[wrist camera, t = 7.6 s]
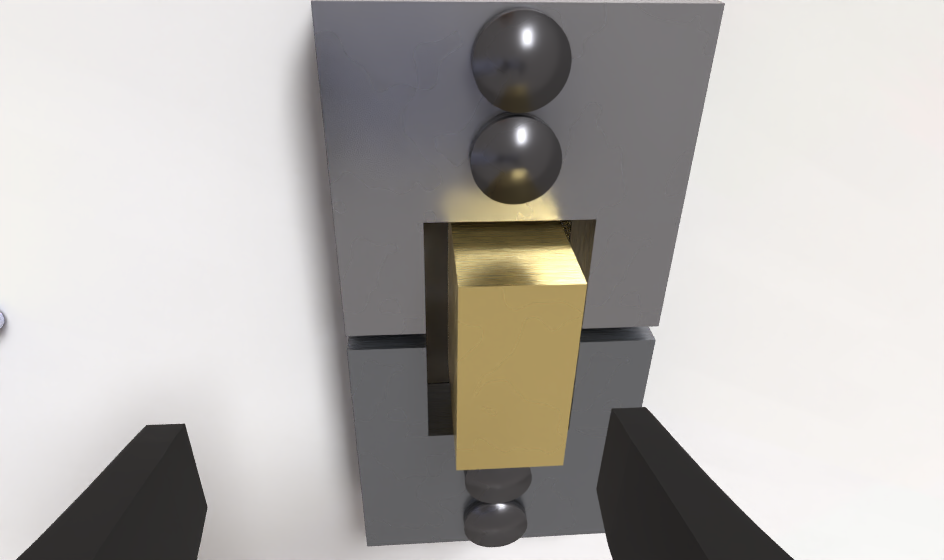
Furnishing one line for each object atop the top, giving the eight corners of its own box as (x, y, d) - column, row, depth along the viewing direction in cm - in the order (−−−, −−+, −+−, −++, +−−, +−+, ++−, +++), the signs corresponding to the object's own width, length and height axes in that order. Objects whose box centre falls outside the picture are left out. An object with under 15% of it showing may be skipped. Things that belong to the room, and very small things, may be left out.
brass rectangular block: (534, 354, 23) (563, 465, 18) (447, 357, 22) (456, 470, 18) (548, 194, 19) (586, 283, 15) (447, 196, 19) (458, 286, 15)
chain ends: (599, 478, 26) (618, 541, 24) (371, 490, 25) (366, 556, 23) (684, -13, 17) (732, 6, 14) (324, -17, 16) (308, 4, 13)
